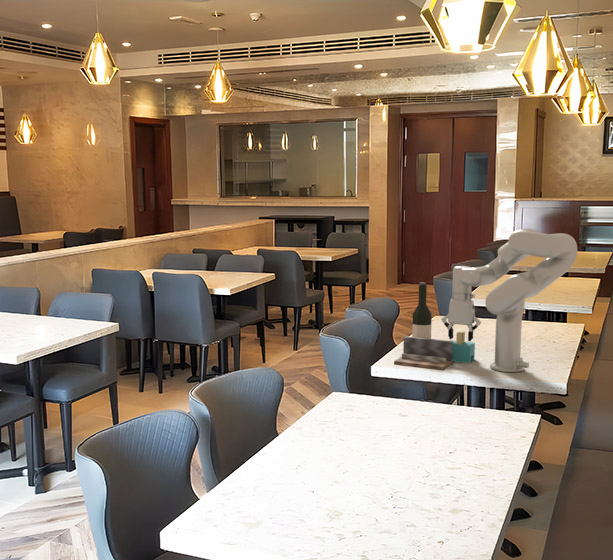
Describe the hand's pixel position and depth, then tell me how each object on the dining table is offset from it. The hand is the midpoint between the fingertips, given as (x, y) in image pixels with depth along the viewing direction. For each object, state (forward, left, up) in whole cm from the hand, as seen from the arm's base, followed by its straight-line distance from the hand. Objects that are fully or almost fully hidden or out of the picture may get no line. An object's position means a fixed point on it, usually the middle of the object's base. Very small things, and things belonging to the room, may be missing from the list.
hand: (460, 339), depth 287 cm
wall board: (+7, +16, -8) cm, 19 cm away
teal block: (0, 0, -8) cm, 8 cm away
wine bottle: (+19, 0, -9) cm, 21 cm away
